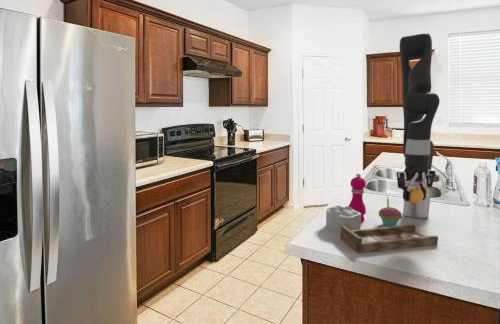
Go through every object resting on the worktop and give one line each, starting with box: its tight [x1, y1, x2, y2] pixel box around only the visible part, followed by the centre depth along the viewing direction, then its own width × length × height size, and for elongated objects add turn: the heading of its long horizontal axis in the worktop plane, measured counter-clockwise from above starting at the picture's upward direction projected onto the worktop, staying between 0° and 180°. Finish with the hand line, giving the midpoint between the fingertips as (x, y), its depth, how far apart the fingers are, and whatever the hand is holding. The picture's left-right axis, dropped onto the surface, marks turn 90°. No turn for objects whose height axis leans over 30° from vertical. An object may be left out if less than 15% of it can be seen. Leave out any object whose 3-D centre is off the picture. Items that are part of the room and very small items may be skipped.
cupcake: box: [378, 196, 403, 227], centre depth 132 cm, size 9×8×12 cm
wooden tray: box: [340, 224, 439, 254], centre depth 116 cm, size 30×12×5 cm, turn 102°
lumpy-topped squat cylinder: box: [325, 205, 362, 236], centre depth 128 cm, size 10×13×9 cm
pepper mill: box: [348, 173, 367, 223], centre depth 137 cm, size 7×7×20 cm
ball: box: [409, 187, 424, 203], centre depth 115 cm, size 6×6×6 cm
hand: (414, 199), depth 115 cm, fingers closed on ball, 5 cm apart
